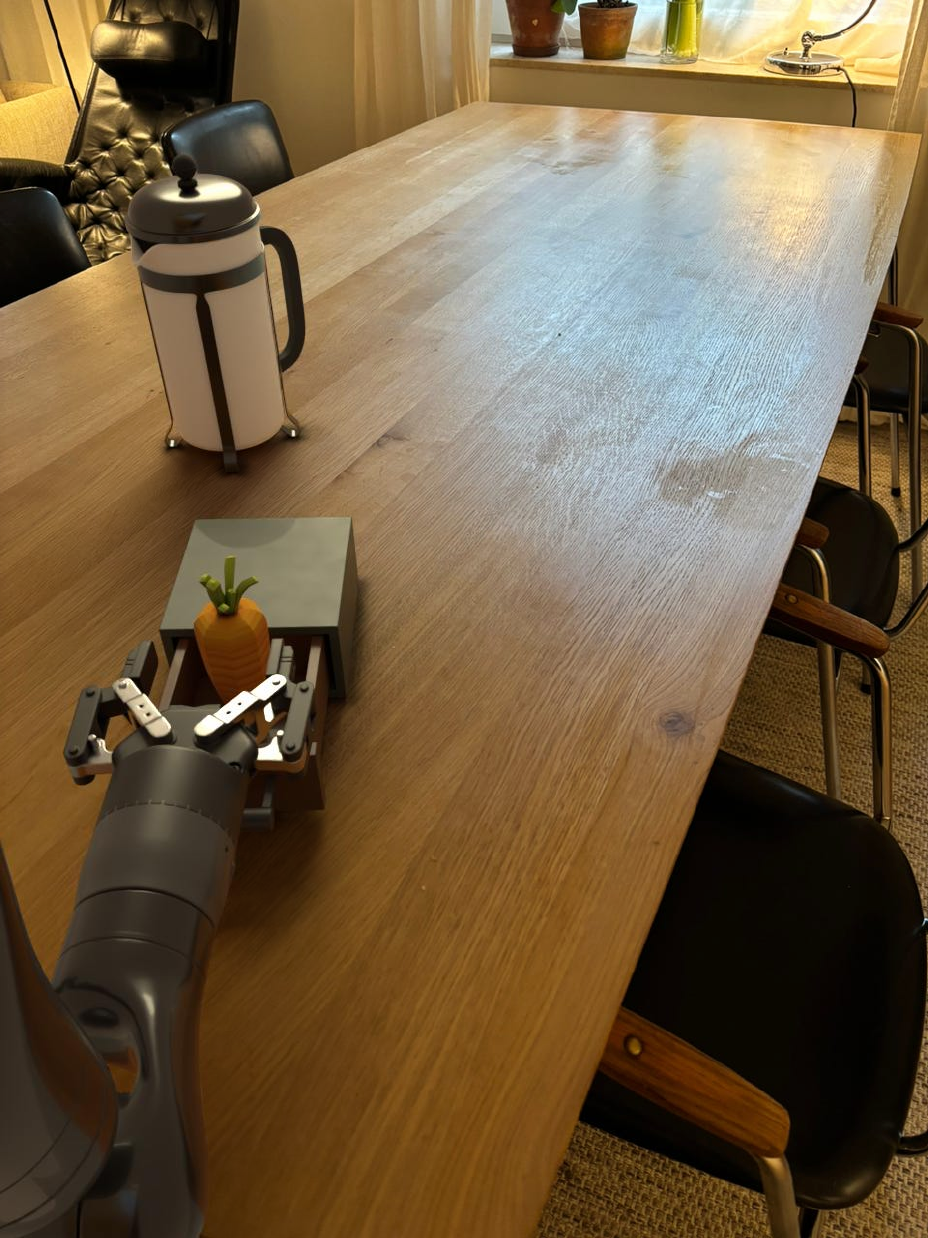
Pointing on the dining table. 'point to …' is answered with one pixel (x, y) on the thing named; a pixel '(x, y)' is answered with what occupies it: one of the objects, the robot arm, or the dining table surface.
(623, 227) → the dining table surface
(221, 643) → the carrot
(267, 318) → the coffee press
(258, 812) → the drawer
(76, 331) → the dining table surface
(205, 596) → the cabinet
